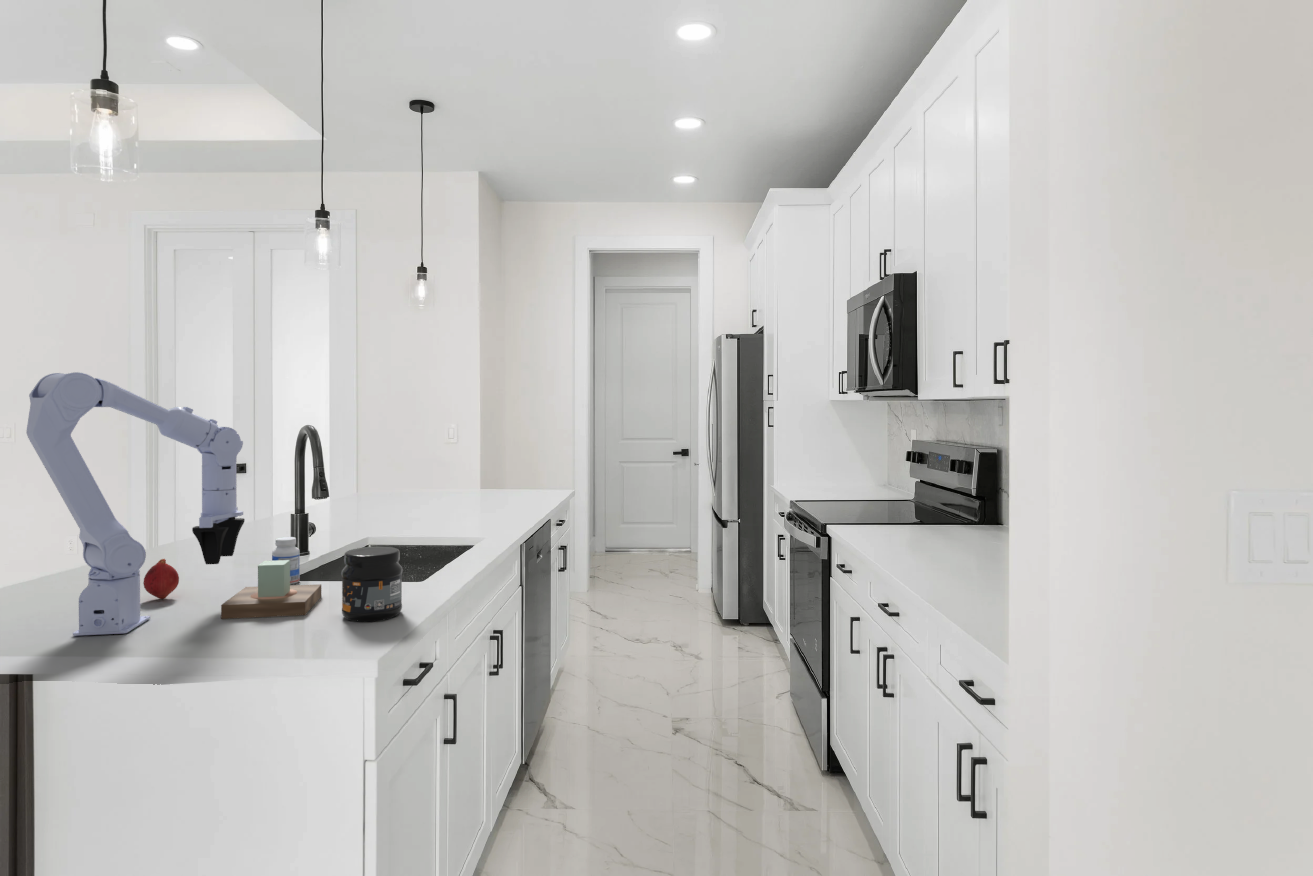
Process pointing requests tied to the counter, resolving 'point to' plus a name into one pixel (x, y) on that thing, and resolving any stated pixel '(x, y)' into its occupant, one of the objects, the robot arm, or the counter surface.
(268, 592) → the sage block
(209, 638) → the counter surface
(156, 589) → the onion
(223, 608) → the walnut base
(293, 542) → the pill bottle
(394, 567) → the supplement container
